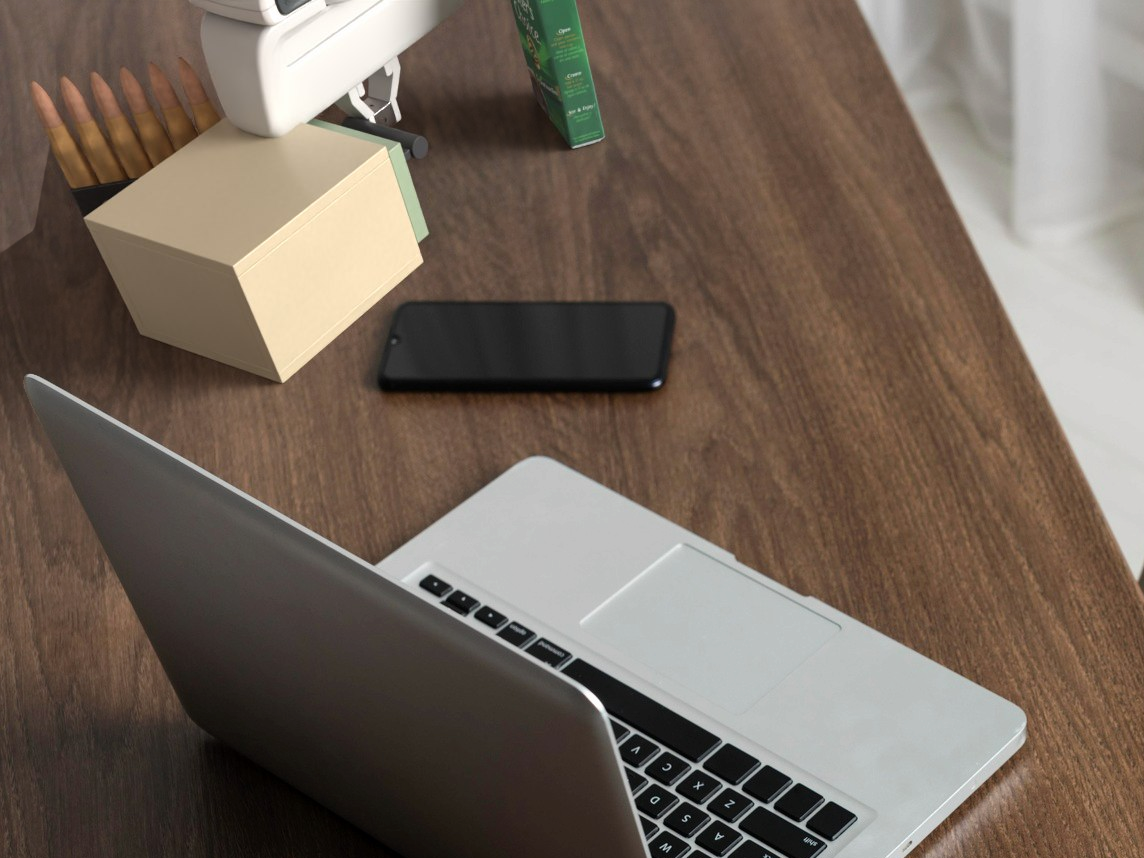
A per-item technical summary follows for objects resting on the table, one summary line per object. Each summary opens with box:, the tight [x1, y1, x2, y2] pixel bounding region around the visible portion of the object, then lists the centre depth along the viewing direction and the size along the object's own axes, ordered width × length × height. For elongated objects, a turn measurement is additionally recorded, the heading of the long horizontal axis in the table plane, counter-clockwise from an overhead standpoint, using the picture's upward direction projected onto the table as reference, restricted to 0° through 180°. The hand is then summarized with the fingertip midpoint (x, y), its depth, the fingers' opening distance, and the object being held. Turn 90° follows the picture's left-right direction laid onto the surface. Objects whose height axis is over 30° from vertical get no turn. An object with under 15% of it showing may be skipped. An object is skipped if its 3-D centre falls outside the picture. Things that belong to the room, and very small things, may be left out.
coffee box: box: [509, 0, 606, 149], centre depth 119 cm, size 8×3×13 cm, turn 29°
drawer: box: [306, 115, 430, 244], centre depth 110 cm, size 17×10×7 cm, turn 154°
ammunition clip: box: [29, 56, 223, 259], centre depth 110 cm, size 11×2×12 cm, turn 103°
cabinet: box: [82, 115, 424, 384], centre depth 107 cm, size 14×12×9 cm
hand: (379, 129), depth 117 cm, fingers closed
